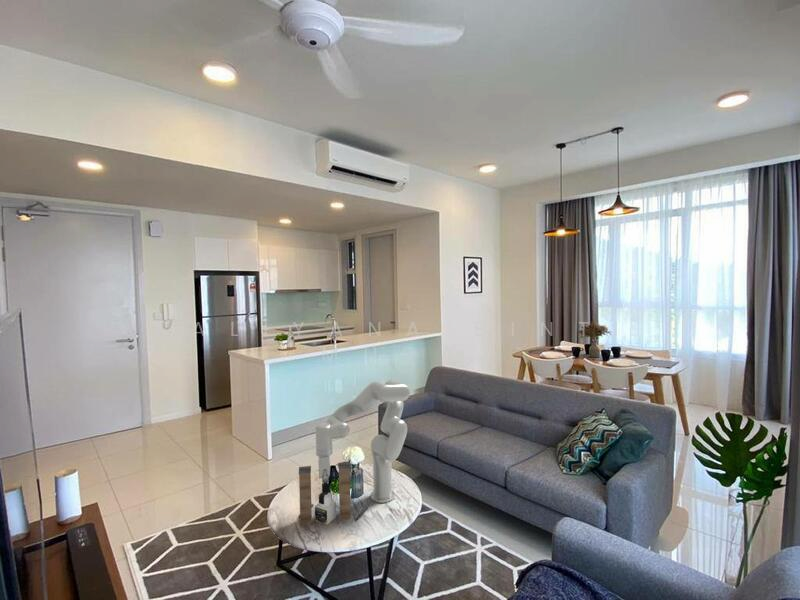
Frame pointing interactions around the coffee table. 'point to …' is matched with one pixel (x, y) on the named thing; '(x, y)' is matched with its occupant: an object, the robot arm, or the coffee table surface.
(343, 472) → the post
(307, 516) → the post
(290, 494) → the coffee table surface
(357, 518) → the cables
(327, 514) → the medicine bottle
